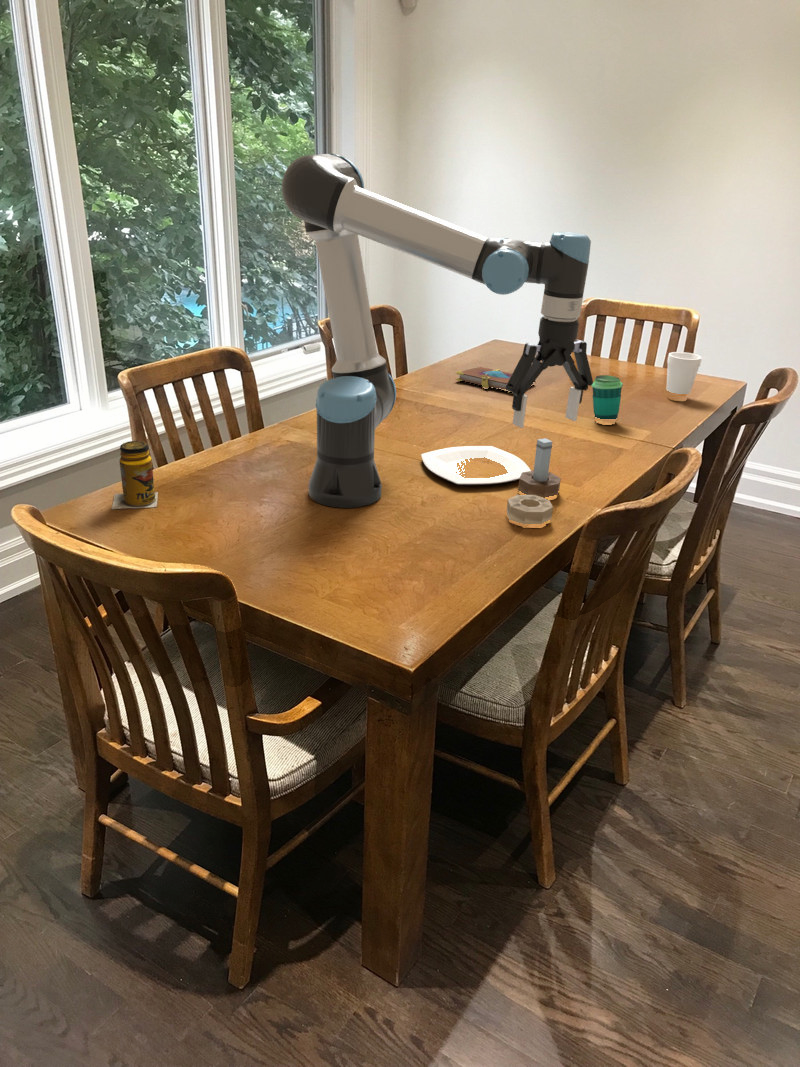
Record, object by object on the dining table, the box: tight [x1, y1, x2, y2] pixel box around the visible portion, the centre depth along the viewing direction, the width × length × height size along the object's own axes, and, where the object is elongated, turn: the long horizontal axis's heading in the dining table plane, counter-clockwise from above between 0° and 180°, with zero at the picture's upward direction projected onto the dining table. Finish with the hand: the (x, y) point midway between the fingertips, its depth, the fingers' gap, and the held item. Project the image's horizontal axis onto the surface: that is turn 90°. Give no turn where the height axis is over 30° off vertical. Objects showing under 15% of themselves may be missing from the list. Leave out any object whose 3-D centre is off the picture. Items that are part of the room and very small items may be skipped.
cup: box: [591, 374, 624, 419], centre depth 220 cm, size 8×8×12 cm
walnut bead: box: [517, 470, 562, 498], centre depth 175 cm, size 8×8×4 cm
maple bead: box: [506, 494, 554, 524], centre depth 162 cm, size 8×8×4 cm
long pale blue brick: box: [533, 438, 553, 482], centre depth 173 cm, size 2×2×12 cm
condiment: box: [111, 440, 159, 510], centre depth 161 cm, size 7×8×12 cm
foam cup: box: [665, 351, 703, 394], centre depth 243 cm, size 10×9×13 cm
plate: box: [420, 445, 532, 486], centre depth 186 cm, size 23×23×2 cm
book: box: [454, 366, 536, 389], centre depth 253 cm, size 16×25×5 cm, turn 53°
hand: (544, 422), depth 169 cm, fingers open, 13 cm apart
